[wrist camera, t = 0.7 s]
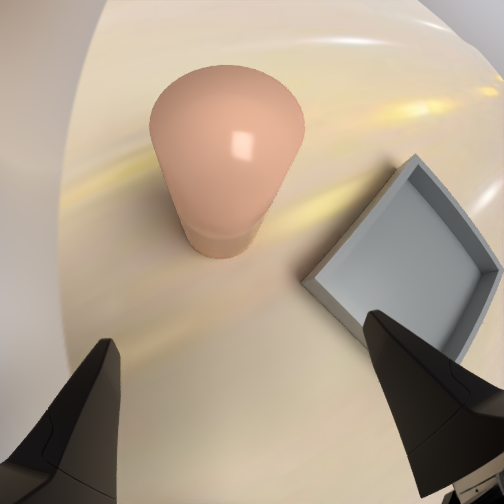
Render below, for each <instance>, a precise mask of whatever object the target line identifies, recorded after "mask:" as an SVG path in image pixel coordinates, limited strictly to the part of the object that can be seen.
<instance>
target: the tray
mask: <svg viewBox="0 0 504 504" xmlns="http://www.w3.org/2000/svg"><path fill="white" fill-rule="evenodd" d="M503 272H504V269H503V267H502V266H501V264H500V262H499V261H498V259H497V257H496V256H495V254H494V253H493V251H492V250H491V248H490V247H489V245H488V244H487V242H486V241H485V239H484V238H483V236H482V235H481V233H480V232H479V230H478V229H477V228H476V226H475V225H474V223H473V222H472V221H471V219H470V218H469V217H468V215H467V214H466V213H465V211H464V210H463V209H462V207H461V206H460V205H459V203H458V202H457V201H456V200H455V198H454V197H453V196H452V195H451V193H450V192H449V191H448V190H447V189H446V187H445V186H444V185H443V184H442V183H441V181H440V180H439V179H438V178H437V177H436V176H435V174H434V173H433V172H432V171H431V170H430V169H429V168H428V167H427V165H426V164H425V163H424V162H423V161H422V160H421V159H420V158H419V157H418V156H417V155H416V154H414V155H413V156H412V157H411V158H410V159H408V160H407V161H406V162H405V163H404V164H403V165H401V166H400V167H399V168H398V169H397V170H396V171H395V173H394V174H393V175H392V176H391V178H390V179H389V180H388V181H387V183H386V184H385V185H384V186H383V188H382V189H381V190H380V191H379V193H378V194H377V195H376V196H375V197H374V199H373V200H372V201H371V202H370V204H369V205H368V206H367V207H366V208H365V210H364V211H363V212H362V213H361V214H360V216H359V217H358V218H357V219H356V220H355V222H354V223H353V224H352V225H351V226H350V228H349V229H348V230H347V231H346V232H345V233H344V235H343V236H342V237H341V238H340V239H339V240H338V242H337V243H336V244H335V245H334V246H333V247H332V248H331V250H330V251H329V252H328V253H327V254H326V255H325V256H324V258H323V259H322V260H321V261H320V262H319V263H318V264H317V266H316V267H315V268H314V269H313V270H312V271H311V272H310V273H309V274H308V276H307V277H306V278H305V279H304V280H303V281H302V282H301V284H302V285H303V286H304V287H305V288H306V289H307V290H308V291H309V292H310V293H311V294H313V295H314V296H315V297H316V298H317V299H318V300H319V301H320V302H321V303H322V304H323V305H324V306H325V307H326V308H327V309H328V310H329V311H330V312H331V313H332V314H333V315H334V316H335V317H336V318H337V319H338V320H339V321H340V322H341V323H342V324H343V325H344V326H345V327H346V328H347V329H348V330H349V331H350V332H351V333H352V334H353V335H354V336H355V337H356V338H357V339H358V340H359V341H360V342H361V343H362V344H363V345H364V346H365V347H366V348H367V349H368V347H367V344H366V340H365V337H364V334H363V324H364V321H365V319H366V316H367V313H368V312H369V311H371V310H376V309H378V310H381V311H382V312H384V313H385V314H387V315H388V316H390V317H391V318H393V319H394V320H395V321H397V322H398V323H400V324H401V325H403V326H404V327H406V328H407V329H409V330H410V331H412V332H413V333H414V334H416V335H417V336H419V337H420V338H422V339H423V340H425V341H426V342H427V343H429V344H430V345H432V346H433V347H435V348H436V349H437V350H439V351H440V352H442V353H443V354H445V355H446V356H447V357H448V358H450V359H452V360H453V361H455V362H456V363H458V364H459V365H460V363H461V362H462V360H463V358H464V356H465V355H466V353H467V351H468V349H469V347H470V345H471V344H472V342H473V340H474V338H475V336H476V334H477V332H478V330H479V328H480V326H481V324H482V322H483V320H484V317H485V315H486V313H487V311H488V309H489V306H490V304H491V302H492V300H493V297H494V295H495V292H496V290H497V287H498V285H499V282H500V280H501V277H502V274H503Z"/></svg>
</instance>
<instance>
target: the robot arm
mask: <svg viewBox="0 0 504 504" xmlns="http://www.w3.org/2000/svg"><path fill="white" fill-rule="evenodd" d="M363 334H364V337H365V340H366V344H367V347H368V350H369V354H370V357H371V361H372V364H373V367H374V369H375V372H376V374H377V377H378V379H379V382H380V384H381V387H382V389H383V392H384V394H385V397H386V399H387V402H388V405H389V407H390V410H391V412H392V415H393V418H394V420H395V423H396V426H397V429H398V431H399V434H400V437H401V440H402V442H403V445H404V448H405V451H406V454H407V455H408V456H407V457H408V460H409V463H410V466H411V469H412V472H413V475H414V478H415V481H416V485H417V488H418V491H419V494H420V497H421V498H424V497H426V496H428V495H431V494H433V493H435V492H437V491H439V490H441V489H443V488H445V487H447V486H449V485H451V484H452V485H453V487H454V490H452V491H451V492H449V493H447V494H446V495H445V496H444V499H443V502H442V504H504V390H502V389H500V388H497V387H495V386H494V385H492V384H490V383H488V382H487V381H485V380H483V379H482V378H480V377H478V376H476V375H475V374H473V373H471V372H470V371H468V370H467V369H465V368H463V367H462V366H461V365H459V364H458V363H456V362H455V361H453V360H452V359H450V358H448V357H447V356H446V355H445V354H443V353H442V352H440V351H439V350H437V349H436V348H435V347H433V346H432V345H430V344H429V343H427V342H426V341H425V340H423V339H422V338H420V337H419V336H417V335H416V334H414V333H413V332H412V331H410V330H409V329H407V328H406V327H404V326H403V325H401V324H400V323H398V322H397V321H395V320H394V319H393V318H391V317H390V316H388V315H387V314H385V313H384V312H382V311H381V310H378V309H376V310H371V311H369V312H368V313H367V316H366V319H365V321H364V324H363ZM120 397H121V390H120V354H119V351H118V349H117V347H116V345H115V343H114V341H113V340H112V339H111V338H102V339H100V340H99V341H98V343H97V344H96V345H95V346H94V348H93V349H92V350H91V351H90V353H89V354H88V355H87V357H86V358H85V359H84V360H83V362H82V363H81V364H80V366H79V367H78V368H77V370H76V371H75V372H74V373H73V375H72V376H71V377H70V379H69V380H68V381H67V383H66V384H65V385H64V387H63V388H62V390H61V391H60V392H59V394H58V395H57V396H56V398H55V399H54V400H53V402H52V403H51V405H50V406H49V407H48V410H46V412H45V413H44V414H43V416H42V417H41V419H40V420H39V421H38V423H37V424H36V425H35V427H34V428H33V429H32V430H31V432H30V433H29V434H28V435H27V437H26V438H25V439H24V440H23V441H22V442H21V444H20V445H19V446H18V447H17V448H16V449H15V451H14V452H13V453H12V454H11V455H10V456H9V458H8V459H6V460H5V461H4V462H2V463H1V464H0V504H117V500H116V499H117V495H116V471H117V440H118V424H119V411H120Z"/></svg>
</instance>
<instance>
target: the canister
mask: <svg viewBox="0 0 504 504" xmlns="http://www.w3.org/2000/svg"><path fill="white" fill-rule="evenodd" d="M149 127H150V136H151V140H152V143H153V146H154V149H155V152H156V155H157V158H158V161H159V164H160V167H161V169H162V172H163V175H164V178H165V181H166V183H167V186H168V189H169V192H170V194H171V197H172V200H173V203H174V205H175V208H176V211H177V213H178V216H179V219H180V221H181V224H182V226H183V229H184V232H185V234H186V237H187V239H188V241H189V242H190V244H191V245H192V246H193V247H194V248H195V249H196V250H197V251H198V252H200V253H201V254H203V255H205V256H208V257H210V258H215V259H226V258H231V257H234V256H237V255H239V254H240V253H242V252H243V251H245V250H246V249H247V248H248V247H249V246H250V245H251V243H252V242H253V240H254V238H255V236H256V234H257V232H258V230H259V228H260V226H261V224H262V222H263V220H264V218H265V216H266V214H267V212H268V210H269V208H270V206H271V204H272V202H273V200H274V198H275V196H276V194H277V192H278V190H279V188H280V186H281V185H282V183H283V181H284V179H285V177H286V175H287V173H288V171H289V169H290V167H291V165H292V163H293V161H294V159H295V157H296V155H297V153H298V151H299V149H300V147H301V145H302V141H303V138H304V132H305V122H304V117H303V113H302V110H301V107H300V105H299V103H298V102H297V100H296V98H295V97H294V96H293V94H292V93H291V92H290V91H289V90H288V89H287V88H286V87H285V86H284V85H283V84H282V83H280V82H279V81H278V80H276V79H274V78H273V77H271V76H269V75H267V74H265V73H263V72H260V71H258V70H255V69H251V68H248V67H242V66H234V65H219V66H210V67H206V68H201V69H198V70H195V71H192V72H190V73H188V74H186V75H184V76H182V77H180V78H178V79H177V80H176V81H174V82H173V83H171V84H170V85H169V86H168V87H167V88H166V89H165V90H164V91H163V92H162V94H161V95H160V96H159V98H158V99H157V101H156V103H155V105H154V107H153V109H152V113H151V116H150V124H149Z"/></svg>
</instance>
